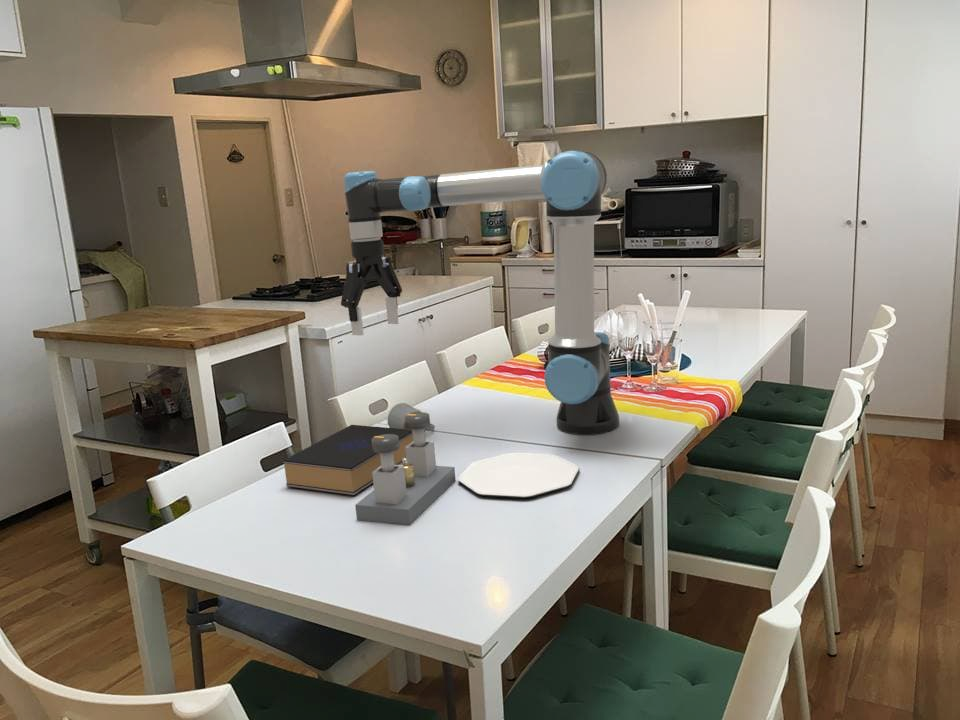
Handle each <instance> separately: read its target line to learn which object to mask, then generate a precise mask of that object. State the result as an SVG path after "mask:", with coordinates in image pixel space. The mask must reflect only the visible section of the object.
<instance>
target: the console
mask: <svg viewBox="0 0 960 720" xmlns="http://www.w3.org/2000/svg"><path fill="white" fill-rule="evenodd" d="M425 443H426V446H425V447H414V442H412V443H410V444H409V445H408V446H406V447H405V451H406V458H407V460H408V463H411V464H413V469H414V479H415V485H414V486H413V487H409V488H406V482H405V471H404V465H394V467H395V470H394V471H393V472H382V467H381V466H380V467H379V468H377V469H376V470H375V471H373V472H372V475H373V483H372V484H373V490H372V491H371V492H369V493H368V494H367V495H366V496H364V497H363V498H362V499H361V500H359V501H358V502H356V503H355V506H354V507H355V516H356V520H357V521H367V522H368V521H369V522H376V523H387V524H395V525H396V524H398V525H406V526H411V524H412V523H414V522H415V521H416V519H418V518H419V517H420V516H421V515H422V514H423V513H424V512H425V511H426V510H427V509H428V508H429V507H430V506H431V505H432V504H433V503H434V502H435V501H436V500H437V499H438V498H439V497H440V496H441V495H442V494H443V493H444V492H445V491H446V490H448V488H449V487H451V486H452V485H453V484H454V483H455V482H456V471H455V468H456V467H455V466H448V465H447V466H444V465H437V462H436V461H437V460H436V450H435V448H436V447H435V441H432V440H431V441H430V440H425Z"/></svg>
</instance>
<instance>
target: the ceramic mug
mask: <svg viewBox="0 0 960 720" xmlns="http://www.w3.org/2000/svg"><path fill="white" fill-rule="evenodd" d="M417 412H422V411H421V409H418V408H415V407H413V406H412V405H410V404H408V403H405V402H401V403H397V404H395V405H394V406H392V407H391V409H390V410H389V412H388V415H387V424H388V426H389V427H388V428H397V429H408V428H406V427H405V416H406V415H407V414H411V413H417ZM435 428H436V425H435V424H433V423H431V422H430V426H428V427H426V428H424V432H425V433H426V431H427V432H431V433H432V432H434V431H435ZM408 430H412V429H408Z"/></svg>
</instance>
